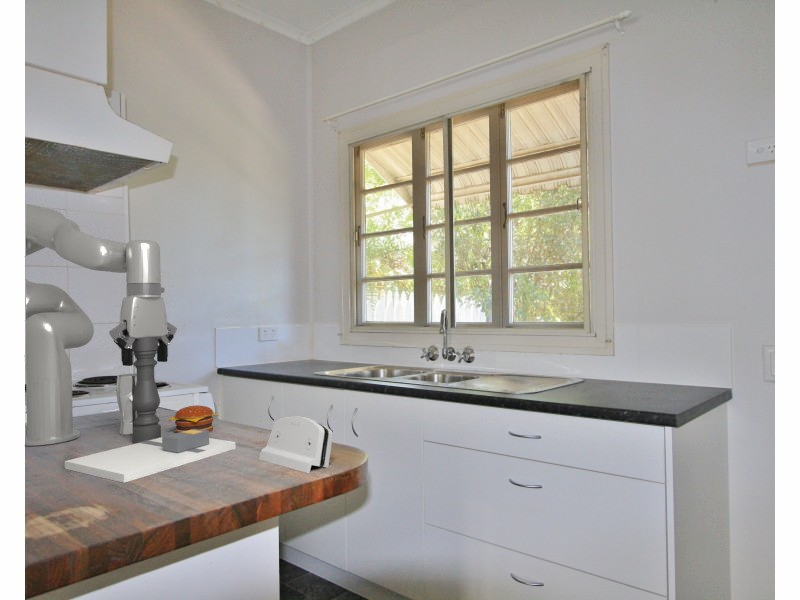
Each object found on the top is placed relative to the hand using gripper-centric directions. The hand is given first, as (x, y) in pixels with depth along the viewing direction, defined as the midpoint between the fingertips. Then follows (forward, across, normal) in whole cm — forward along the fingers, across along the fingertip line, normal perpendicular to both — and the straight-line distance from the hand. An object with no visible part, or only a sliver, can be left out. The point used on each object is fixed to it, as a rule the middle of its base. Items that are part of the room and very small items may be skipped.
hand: (145, 363), depth 130 cm
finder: (+17, +4, +20) cm, 27 cm away
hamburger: (+19, -12, +2) cm, 23 cm away
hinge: (+19, -3, +46) cm, 49 cm away
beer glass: (+19, -4, -12) cm, 23 cm away
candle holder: (+19, 0, 0) cm, 19 cm away
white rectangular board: (+19, +9, +16) cm, 26 cm away
